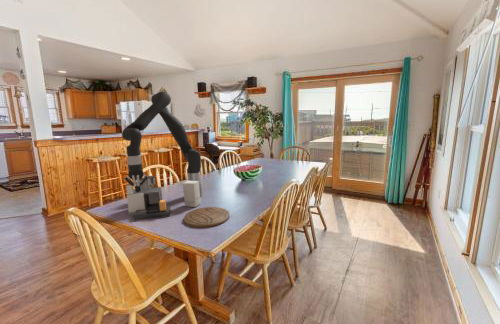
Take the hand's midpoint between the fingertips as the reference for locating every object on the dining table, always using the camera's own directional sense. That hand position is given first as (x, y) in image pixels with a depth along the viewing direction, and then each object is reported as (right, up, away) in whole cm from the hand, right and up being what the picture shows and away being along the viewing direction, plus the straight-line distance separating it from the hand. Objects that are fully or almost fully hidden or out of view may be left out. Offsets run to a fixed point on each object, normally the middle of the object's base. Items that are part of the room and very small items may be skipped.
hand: (138, 191), depth 147 cm
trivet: (+42, -14, -7) cm, 45 cm away
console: (+10, -14, -2) cm, 17 cm away
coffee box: (-4, -9, +26) cm, 28 cm away
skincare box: (+29, -10, +13) cm, 34 cm away
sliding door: (-2, -12, +2) cm, 12 cm away
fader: (+15, -10, -1) cm, 18 cm away
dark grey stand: (+2, -12, +8) cm, 14 cm away
